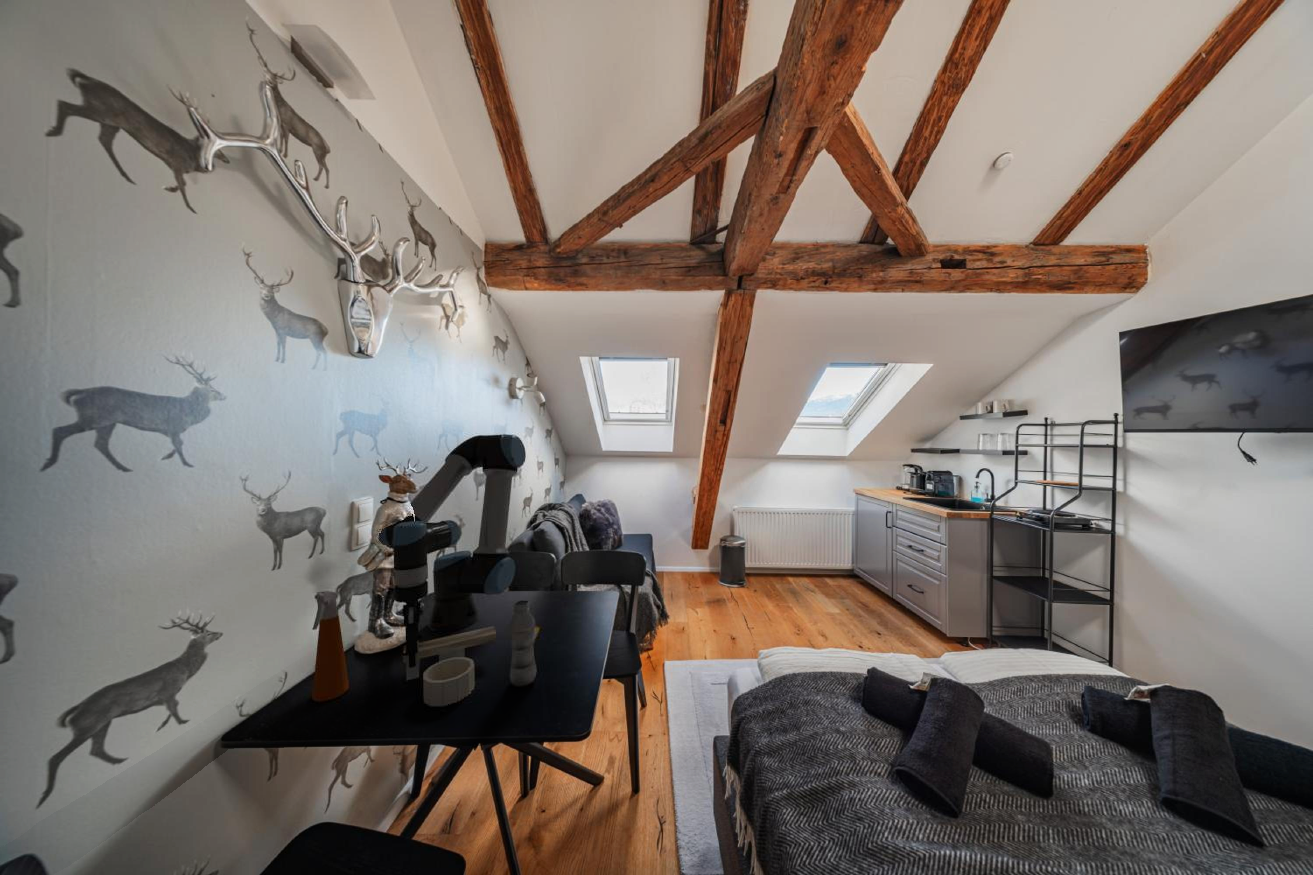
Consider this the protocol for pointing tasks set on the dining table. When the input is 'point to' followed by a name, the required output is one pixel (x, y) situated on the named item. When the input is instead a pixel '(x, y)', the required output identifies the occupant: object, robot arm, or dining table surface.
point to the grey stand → (452, 654)
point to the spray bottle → (329, 650)
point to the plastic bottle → (522, 645)
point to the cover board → (454, 642)
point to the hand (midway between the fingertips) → (413, 672)
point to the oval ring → (448, 681)
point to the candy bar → (536, 631)
